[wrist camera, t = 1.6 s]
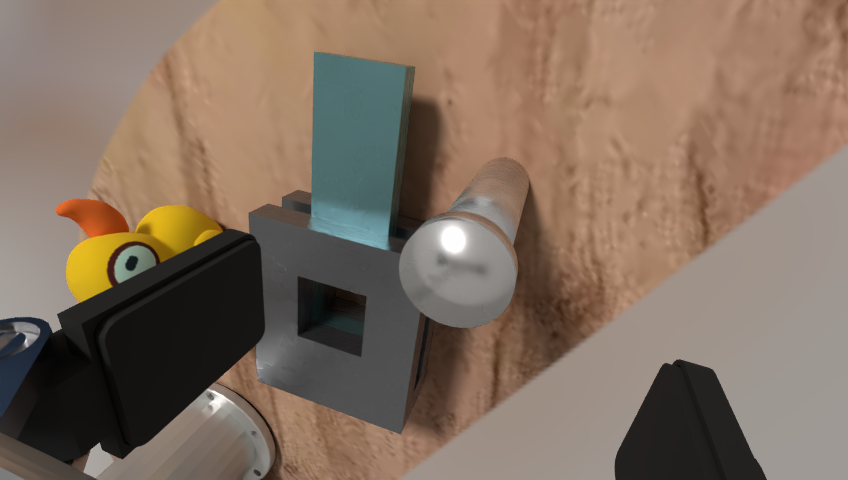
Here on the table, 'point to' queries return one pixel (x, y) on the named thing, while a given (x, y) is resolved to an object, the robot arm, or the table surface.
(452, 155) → the table surface
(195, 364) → the robot arm
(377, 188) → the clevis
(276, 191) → the table surface
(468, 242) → the pin
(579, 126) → the table surface
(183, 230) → the duckling
